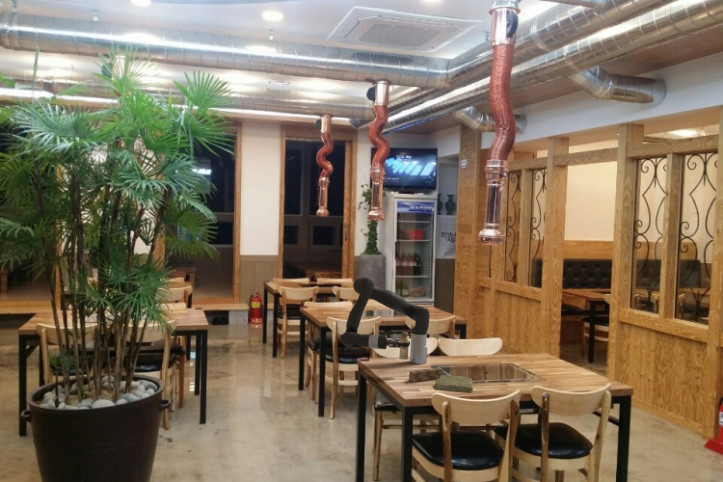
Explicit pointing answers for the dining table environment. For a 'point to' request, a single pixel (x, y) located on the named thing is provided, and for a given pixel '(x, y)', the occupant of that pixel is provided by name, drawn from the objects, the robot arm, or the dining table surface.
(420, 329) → the robot arm
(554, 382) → the dining table surface
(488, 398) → the dining table surface
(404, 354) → the pepper mill
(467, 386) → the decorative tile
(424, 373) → the rail
